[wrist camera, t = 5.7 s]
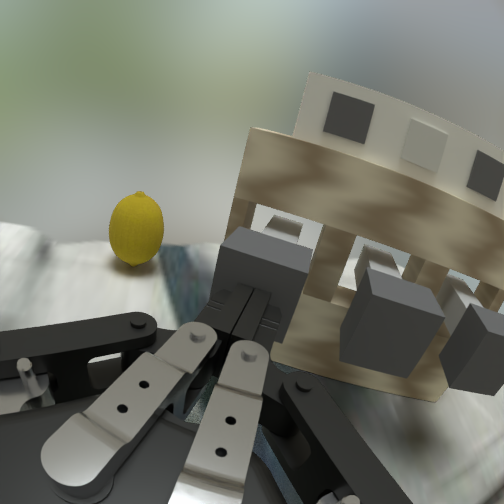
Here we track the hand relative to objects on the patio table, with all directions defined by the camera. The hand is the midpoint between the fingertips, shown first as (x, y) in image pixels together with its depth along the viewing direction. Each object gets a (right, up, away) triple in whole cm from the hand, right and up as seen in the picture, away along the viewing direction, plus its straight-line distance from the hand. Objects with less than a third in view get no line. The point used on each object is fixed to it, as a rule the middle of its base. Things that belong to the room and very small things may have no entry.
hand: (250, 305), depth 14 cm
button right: (+14, -4, +4) cm, 15 cm away
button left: (+1, 0, +6) cm, 6 cm away
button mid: (+7, -2, +5) cm, 9 cm away
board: (+7, -7, +12) cm, 15 cm away
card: (+10, +7, +4) cm, 13 cm away
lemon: (-12, +1, +18) cm, 21 cm away
